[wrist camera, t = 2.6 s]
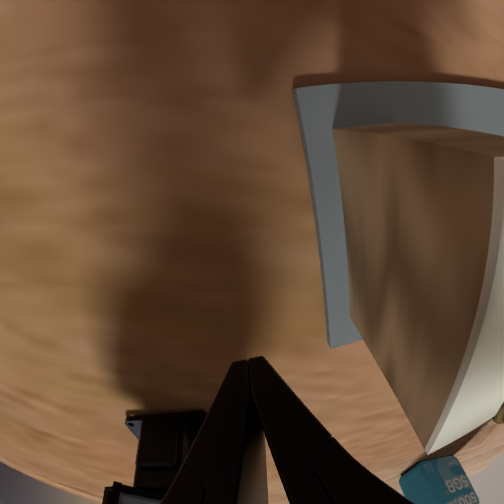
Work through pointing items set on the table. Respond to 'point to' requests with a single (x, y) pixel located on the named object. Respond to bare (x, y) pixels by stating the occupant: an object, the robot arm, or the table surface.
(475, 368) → the slab
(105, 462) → the table surface
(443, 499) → the data package
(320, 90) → the mat
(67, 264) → the table surface
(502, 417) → the owl figurine
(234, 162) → the table surface
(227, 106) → the table surface
